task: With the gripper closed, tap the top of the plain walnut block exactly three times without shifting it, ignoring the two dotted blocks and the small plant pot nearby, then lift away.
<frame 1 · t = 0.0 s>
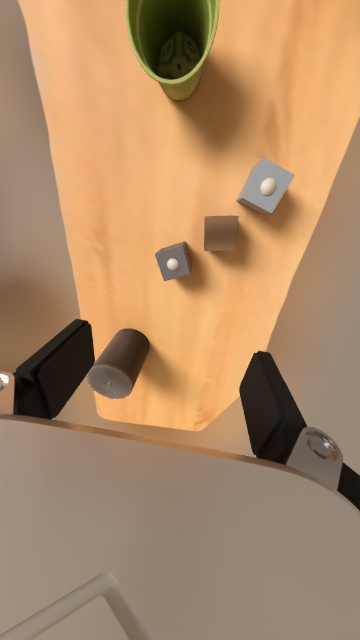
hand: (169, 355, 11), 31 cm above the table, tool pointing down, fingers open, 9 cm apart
plant pot: (180, 71, 27), on the table
charcoal block: (176, 257, 39), on the table
slate block: (257, 191, 32), on the table
walnut block: (217, 231, 36), on the table
pillar candle: (131, 343, 51), on the table
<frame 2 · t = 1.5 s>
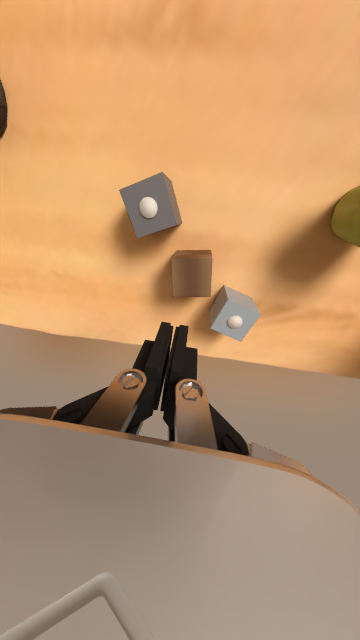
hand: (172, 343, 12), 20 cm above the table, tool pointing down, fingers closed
plant pot: (355, 213, 24), on the table
charcoal block: (159, 209, 26), on the table
slate block: (229, 304, 32), on the table
walnut block: (193, 267, 29), on the table
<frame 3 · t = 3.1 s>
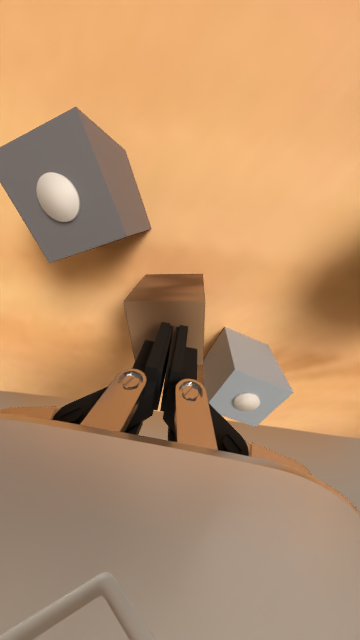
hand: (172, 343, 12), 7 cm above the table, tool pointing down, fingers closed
charcoal block: (109, 204, 15), on the table
slate block: (233, 353, 20), on the table
walnut block: (175, 300, 18), on the table
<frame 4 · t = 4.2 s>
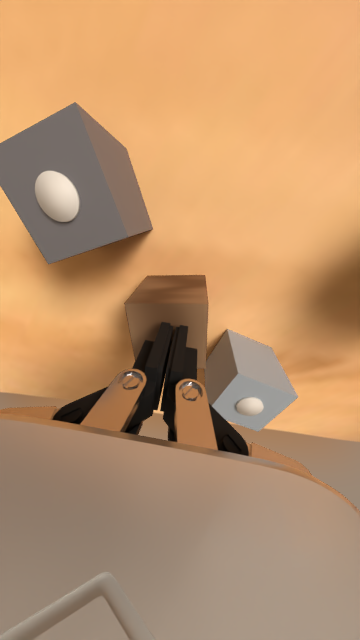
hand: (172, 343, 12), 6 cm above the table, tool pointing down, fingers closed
charcoal block: (110, 204, 14), on the table
slate block: (236, 355, 20), on the table
walnut block: (177, 301, 18), on the table
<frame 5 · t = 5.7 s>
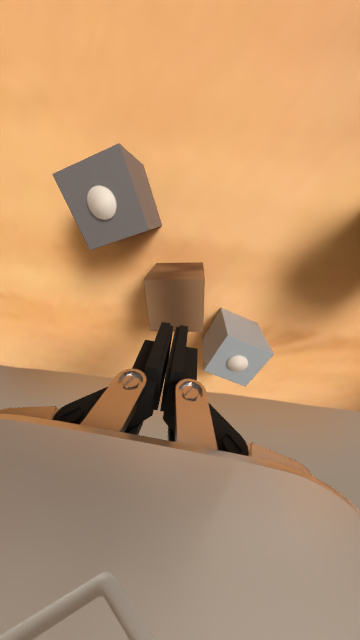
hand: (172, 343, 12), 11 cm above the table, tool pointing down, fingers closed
charcoal block: (129, 206, 18), on the table
slate block: (228, 330, 24), on the table
walnut block: (180, 284, 22), on the table
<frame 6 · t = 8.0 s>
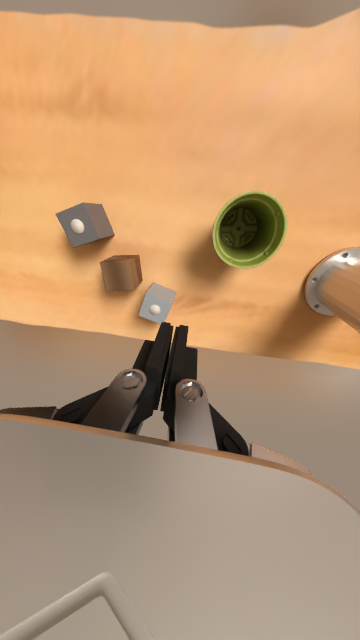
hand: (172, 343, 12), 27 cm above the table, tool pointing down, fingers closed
plant pot: (237, 228, 33), on the table
charcoal block: (96, 224, 34), on the table
slate block: (161, 297, 40), on the table
walnut block: (128, 268, 38), on the table
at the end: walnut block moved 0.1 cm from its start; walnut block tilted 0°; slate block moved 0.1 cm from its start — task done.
